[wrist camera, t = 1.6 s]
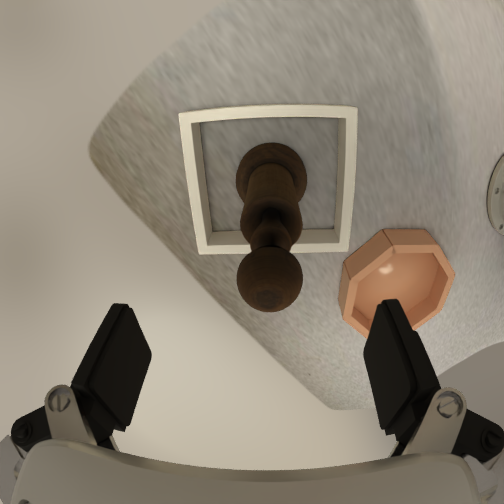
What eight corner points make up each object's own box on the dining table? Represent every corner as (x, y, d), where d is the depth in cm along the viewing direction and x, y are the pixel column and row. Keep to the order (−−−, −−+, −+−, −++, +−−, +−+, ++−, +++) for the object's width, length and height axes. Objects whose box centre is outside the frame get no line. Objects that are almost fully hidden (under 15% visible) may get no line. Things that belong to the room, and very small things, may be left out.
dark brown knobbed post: (291, 214, 29) (307, 358, 14) (230, 196, 29) (183, 329, 13) (314, 154, 26) (372, 256, 11) (248, 133, 25) (209, 206, 10)
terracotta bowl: (451, 229, 29) (465, 244, 26) (423, 315, 36) (431, 332, 33) (347, 229, 30) (355, 245, 27) (333, 322, 37) (337, 341, 34)
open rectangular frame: (348, 105, 23) (357, 107, 20) (342, 237, 30) (347, 251, 28) (188, 110, 24) (178, 113, 22) (204, 239, 32) (198, 254, 29)
